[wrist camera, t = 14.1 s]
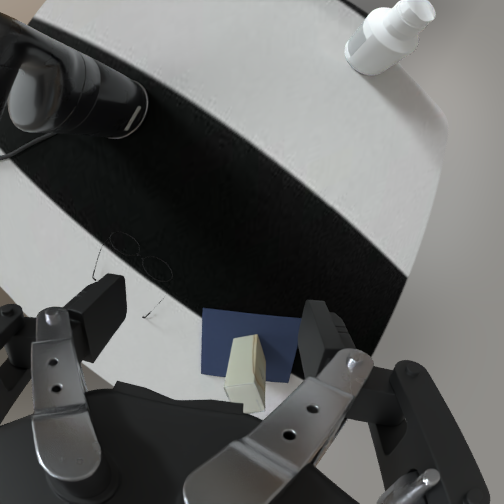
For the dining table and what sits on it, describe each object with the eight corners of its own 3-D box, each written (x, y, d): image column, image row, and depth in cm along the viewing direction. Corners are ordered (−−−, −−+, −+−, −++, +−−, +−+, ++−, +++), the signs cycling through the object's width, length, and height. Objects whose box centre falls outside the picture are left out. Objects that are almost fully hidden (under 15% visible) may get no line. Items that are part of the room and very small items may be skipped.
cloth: (201, 372, 49) (201, 373, 49) (203, 307, 45) (202, 308, 45) (288, 381, 49) (288, 382, 49) (303, 318, 45) (303, 319, 45)
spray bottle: (380, 39, 31) (437, -11, 14) (389, 77, 33) (457, 41, 16) (339, 36, 32) (382, -25, 15) (348, 75, 34) (402, 28, 17)
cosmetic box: (266, 361, 47) (267, 412, 36) (241, 365, 48) (236, 416, 36) (257, 332, 46) (255, 382, 34) (231, 337, 46) (222, 387, 35)
